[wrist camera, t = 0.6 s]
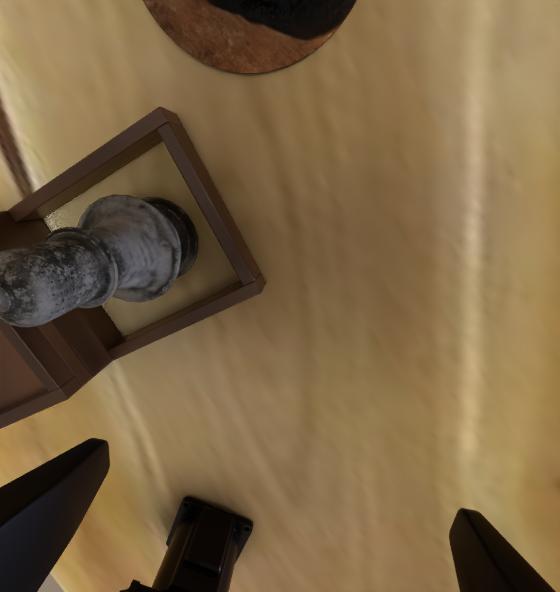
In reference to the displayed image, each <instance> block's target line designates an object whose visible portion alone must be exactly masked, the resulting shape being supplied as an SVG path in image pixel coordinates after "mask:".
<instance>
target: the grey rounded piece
mask: <svg viewBox="0 0 560 592" xmlns="http://www.w3.org/2000/svg"><path fill="white" fill-rule="evenodd" d="M197 250H198V239H197V234H196V231H195V228H194V225H193V223H192V222H191V220H190V218H189V217H188V215H187V214H186V213H185V212H184V211H183V210H182V209H181V208H180V207H178V206H177V205H175V204H174V203H172V202H170V201H167V200H164V199H161V198H145V199H139V198H135V197H132V196H129V195H110V196H107V197H103V198H100V199H98V200H97V201H95V202H94V203H92V204H91V205H89V207H88V208H87V209H86V211H85V212H84V213H83V214H82V216H81V219H80V221H79V224H78V227H77V228H76V227H65V228H61V229H57V230H55V231H53V232H52V233H50V234H49V235H47V237H46V238H45V239H44V241H43V242H41V243H37V244H32V245H28V246H23V247H18V248H14V249H9V250H5V251H2V252H0V320H1V321H2V322H4V323H7V324H10V325H14V326H18V327H33V326H38V325H42V324H45V323H47V322H49V321H51V320H53V319H55V318H57V317H59V316H61V315H63V314H65V313H67V312H69V311H71V310H72V309H74V308H76V307H79V308H92V307H97V306H100V305H101V304H103V303H105V302H107V301H108V300H109V299H110V298H111V296H113V297H115V298H118V299H121V300H124V301H128V302H145V301H150V300H153V299H155V298H157V297H159V296H161V295H163V294H164V293H165V292H166V291H167V290H168V289H169V288H170V287H171V286H172V285H173V283H174V281H175V279H176V278H177V277H179V276H181V275H183V274H184V273H186V272H187V270H188V269H189V268H190V267H191V266H192V264H193V262H194V261H195V259H196V255H197Z"/></svg>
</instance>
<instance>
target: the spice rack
mask: <svg viewBox="0 0 560 592" xmlns="http://www.w3.org/2000/svg"><path fill="white" fill-rule="evenodd" d="M162 140H163V142H164V144H165V145H166V147H167V149H168V151H169V153H170V154H171V156H172V158H173V160H174V162H175V163H176V165H177V167H178V169H179V171H180V172H181V174H182V176H183V178H184V180H185V181H186V183H187V185H188V187H189V189H190V190H191V192H192V194H193V196H194V198H195V199H196V201H197V203H198V205H199V207H200V209H201V210H202V212H203V214H204V216H205V218H206V219H207V221H208V223H209V225H210V227H211V228H212V230H213V232H214V234H215V236H216V237H217V239H218V241H219V243H220V245H221V246H222V248H223V250H224V252H225V254H226V255H227V257H228V259H229V261H230V263H231V264H232V266H233V268H234V270H235V272H236V273H237V275H238V277H239V279H240V281H241V282H240V283H238V284H235V285H233V286H231V287H229V288H227V289H225V290H223V291H221V292H219V293H216V294H214V295H212V296H210V297H208V298H206V299H204V300H202V301H200V302H198V303H195V304H193V305H191V306H189V307H187V308H185V309H183V310H181V311H179V312H176V313H174V314H172V315H170V316H168V317H166V318H164V319H162V320H160V321H158V322H155V323H153V324H151V325H149V326H147V327H145V328H143V329H141V330H139V331H137V332H134V333H132V334H130V335H128V336H126V337H124V338H123V337H122V336H121V334H120V333H119V331H118V330H117V328H116V327H115V325H114V324H113V323H112V321H111V320H110V318H109V317H108V315H107V314H106V312H105V311H104V309H103V308H102V307H101V305H100V306H97V307H92V308H79V307H76V308H74V309H72V310H71V311H69V312H67V313H65V314H63V315H61V316H59V317H57V318H55V319H53V320H51V321H49V322H47V323H45V324H42V325H38V326H33V327H18V326H14V325H10V324H7V323H4V322H2V321H1V320H0V429H1V428H3V427H6V426H8V425H10V424H12V423H15V422H17V421H19V420H21V419H24V418H26V417H28V416H31V415H33V414H35V413H37V412H40V411H42V410H44V409H47V408H49V407H51V406H53V405H56V404H58V403H60V402H63V401H65V400H67V399H69V398H70V397H71V396H72V395H73V394H75V393H76V392H77V391H78V390H79V389H80V388H82V386H84V385H85V384H86V383H87V382H88V381H90V380H91V379H92V378H93V377H94V376H95V375H97V374H98V373H99V372H100V371H101V370H102V369H104V368H105V367H106V366H107V365H108V364H109V363H111V362H112V361H113V360H115V359H117V358H120V357H122V356H124V355H126V354H128V353H131V352H133V351H135V350H137V349H139V348H142V347H144V346H146V345H148V344H150V343H152V342H155V341H157V340H159V339H161V338H163V337H166V336H168V335H170V334H172V333H174V332H177V331H179V330H181V329H183V328H185V327H187V326H190V325H192V324H194V323H196V322H198V321H201V320H203V319H205V318H207V317H209V316H212V315H214V314H216V313H218V312H220V311H222V310H225V309H227V308H229V307H231V306H233V305H236V304H238V303H240V302H242V301H244V300H247V299H249V298H251V297H253V296H255V295H257V294H260V293H261V292H262V290H263V288H264V286H265V285H266V281H265V279H264V277H263V275H262V274H261V273H260V270H259V268H258V266H257V264H256V262H255V261H254V259H253V257H252V255H251V253H250V251H249V249H248V247H247V246H246V244H245V242H244V240H243V238H242V236H241V234H240V232H239V231H238V229H237V227H236V225H235V223H234V221H233V219H232V217H231V216H230V214H229V212H228V210H227V208H226V206H225V204H224V202H223V201H222V199H221V197H220V195H219V193H218V191H217V189H216V187H215V186H214V184H213V182H212V180H211V178H210V176H209V174H208V172H207V171H206V169H205V167H204V165H203V163H202V161H201V159H200V157H199V156H198V154H197V152H196V150H195V148H194V146H193V144H192V142H191V141H190V139H189V137H188V135H187V133H186V131H185V129H184V128H183V126H182V124H181V122H180V120H179V118H178V116H177V114H175V113H173V112H171V111H169V110H167V109H165V108H162V107H158V108H157V109H155V110H154V111H152V112H151V113H149V114H148V115H147V116H145V117H144V118H142V119H141V120H139V121H138V122H136V123H135V124H133V125H132V126H130V127H129V128H128V129H126V130H125V131H123V132H122V133H120V134H119V135H117V136H116V137H114V138H113V139H111V140H110V141H109V142H107V143H106V144H104V145H103V146H101V147H100V148H98V149H97V150H95V151H94V152H92V153H91V154H90V155H88V156H87V157H85V158H84V159H82V160H81V161H79V162H78V163H76V164H75V165H73V166H72V167H71V168H69V169H68V170H66V171H65V172H63V173H62V174H60V175H59V176H57V177H56V178H54V179H53V180H52V181H50V182H49V183H47V184H46V185H44V186H43V187H41V188H40V189H38V190H37V191H35V192H34V193H33V194H31V195H30V196H28V197H27V198H25V199H24V200H22V201H21V202H19V203H18V204H16V205H15V206H14V207H12V208H11V209H9V210H8V211H2V212H0V252H2V251H5V250H9V249H14V248H18V247H23V246H28V245H32V244H37V243H41V242H43V241H44V239H45V238H46V237H47V235H49V234H50V233H51V232H50V231H49V229H48V228H47V227H46V225H45V224H44V222H43V221H42V218H44V217H45V216H47V215H48V214H50V213H52V212H53V211H55V210H56V209H58V208H59V207H61V206H62V205H64V204H65V203H67V202H69V201H70V200H72V199H73V198H75V197H76V196H78V195H79V194H81V193H82V192H84V191H85V190H87V189H89V188H90V187H92V186H93V185H95V184H96V183H98V182H99V181H101V180H102V179H104V178H105V177H107V176H109V175H110V174H112V173H113V172H115V171H116V170H118V169H119V168H121V167H122V166H124V165H125V164H127V163H129V162H130V161H132V160H133V159H135V158H136V157H138V156H139V155H141V154H142V153H144V152H146V151H147V150H149V149H150V148H152V147H153V146H155V145H156V144H158V143H159V142H161V141H162Z"/></svg>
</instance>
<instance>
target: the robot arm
mask: <svg viewBox="0 0 560 592" xmlns="http://www.w3.org/2000/svg"><path fill="white" fill-rule="evenodd" d="M109 467H110V458H109V444H108V442H107V441H106V440H103V439H97V438H91V439H88V440H86V441H85V442H83V443H81V444H79V445H77V446H75V447H74V448H72V449H70V450H68V451H66V452H64V453H63V454H61V455H59V456H57V457H55V458H53V459H52V460H50V461H48V462H46V463H44V464H42V465H41V466H39V467H37V468H35V469H33V470H32V471H30V472H28V473H26V474H24V475H22V476H21V477H19V478H17V479H15V480H13V481H11V482H10V483H8V484H6V485H4V486H2V487H0V592H37V591H38V589H39V588H40V587H41V585H42V584H43V582H44V580H45V579H46V577H47V576H48V574H49V573H50V571H51V570H52V568H53V567H54V565H55V564H56V562H57V561H58V559H59V558H60V556H61V555H62V553H63V552H64V550H65V549H66V547H67V545H68V544H69V542H70V541H71V539H72V537H73V536H74V534H75V532H76V530H77V529H78V527H79V525H80V523H81V521H82V520H83V518H84V516H85V514H86V512H87V510H88V508H89V507H90V505H91V503H92V501H93V499H94V497H95V496H96V494H97V492H98V490H99V488H100V486H101V484H102V483H103V481H104V479H105V477H106V475H107V473H108V470H109ZM252 529H253V523H252V522H251V521H248V520H246V519H243V518H241V517H238V516H236V515H233V514H231V513H228V512H226V511H223V510H221V509H218V508H215V507H213V506H210V505H208V504H205V503H203V502H200V501H198V500H195V499H193V498H190V497H185V498H184V499H183V500H182V503H181V505H180V508H179V510H178V513H177V516H176V518H175V521H174V523H173V526H172V529H171V531H170V534H169V536H168V539H167V542H166V545H167V546H168V549H167V552H166V554H165V557H164V559H163V561H162V564H161V566H160V568H159V571H158V573H157V576H156V578H155V580H154V583H153V585H152V587H148V586H145V585H143V584H140V582H139V581H137V580H134V579H133V581H132V583H131V585H130V587H129V588H128V589H126V590H120V592H228V591H229V587H230V583H231V578H232V574H233V569H234V565H235V563H236V561H237V559H238V557H239V555H240V553H241V551H242V549H243V548H244V546H245V544H246V542H247V540H248V538H249V536H250V534H251V532H252ZM449 540H450V546H451V551H452V555H453V560H454V565H455V570H456V574H457V579H458V584H459V589H460V592H556V591H555V590H554V589H553V588H552V587H551V586H550V585H549V584H548V583H547V582H546V581H545V580H544V579H543V578H542V577H541V576H540V575H539V574H538V573H537V572H536V571H535V570H534V568H533V567H532V566H531V565H530V564H529V563H528V562H527V561H526V560H525V559H524V558H523V557H522V556H521V555H520V554H519V553H518V552H517V551H516V550H515V549H514V548H513V547H512V545H511V544H510V543H509V542H508V541H507V540H506V539H505V538H504V537H503V536H502V535H501V534H500V533H499V532H498V531H497V530H496V529H495V528H494V527H493V526H492V525H491V524H490V522H489V521H488V520H487V519H486V518H485V517H484V516H483V515H482V514H481V513H479V512H478V511H475V510H470V509H465V508H461V509H459V510H458V512H457V514H456V517H455V519H454V522H453V524H452V527H451V529H450V533H449Z"/></svg>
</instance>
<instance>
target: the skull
mask: <svg viewBox="0 0 560 592" xmlns="http://www.w3.org/2000/svg"><path fill="white" fill-rule="evenodd" d="M143 1H144V3H145V5H146V7H147V8H148V10H149V11H150V13H151V15H152V16H153V17H154V19H155V20H156V22H157V23H158V24H159V25H160V27H161V28H162V29H163V30H164V31H165V32H166V34H167V35H168V36H169V37H170V38H171V39H172V40H173V41H174V42H175V43H177V44H178V45H179V46H180V47H181V48H183V49H184V50H185V51H187V52H188V53H189V54H191V55H192V56H194V57H196V58H197V59H199V60H201V61H203V62H205V63H207V64H209V65H212V66H214V67H217V68H220V69H223V70H227V71H231V72H237V73H245V74H247V73H260V72H261V73H262V72H269V71H271V70H276V69H279V68H282V67H285V66H288V65H290V64H293V63H295V62H297V61H298V60H300V59H301V58H304V57H305V56H307V55H308V54H310V53H312V52H313V51H314V50H315V49H316V48H318V47H319V46H320V45H321V44H322V43H323V42H325V41H326V40H327V39H328V38H329V37H330V36H331V35H332V34H333V32H334V31H335V30H336V29H337V28H338V27H339V26H340V25H341V23H342V22H343V21H344V19H345V18H346V16H347V15H348V13H349V12H350V10H351V9H352V7H353V5H354V4H355V2H356V0H143Z"/></svg>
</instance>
